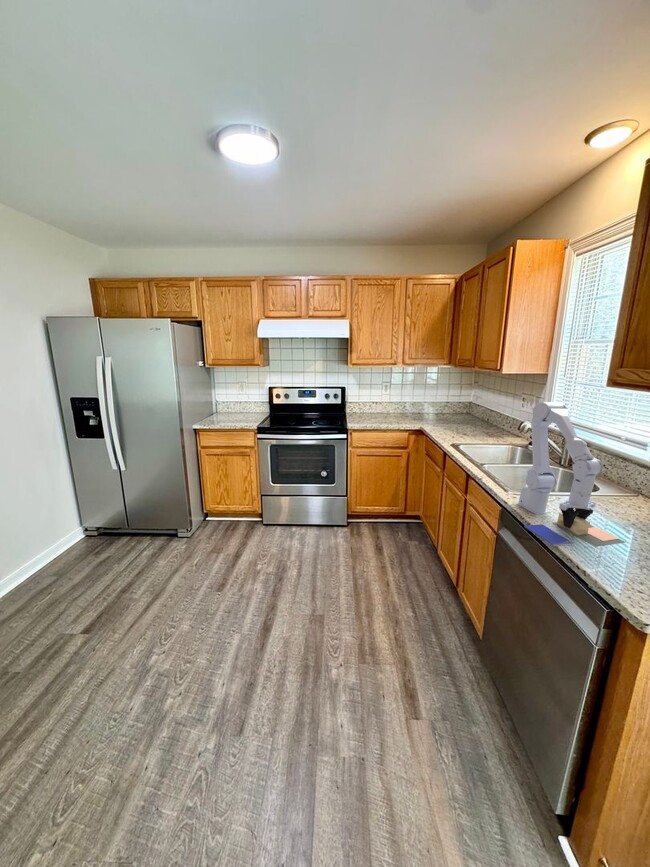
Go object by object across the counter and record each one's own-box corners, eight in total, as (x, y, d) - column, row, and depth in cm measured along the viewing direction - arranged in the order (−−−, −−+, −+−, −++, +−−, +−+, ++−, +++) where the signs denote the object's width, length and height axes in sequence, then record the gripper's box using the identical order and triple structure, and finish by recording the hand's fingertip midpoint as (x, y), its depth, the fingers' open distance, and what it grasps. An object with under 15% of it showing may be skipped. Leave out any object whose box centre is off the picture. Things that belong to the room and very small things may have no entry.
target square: (579, 529, 120) (579, 528, 120) (595, 527, 122) (595, 527, 122) (602, 541, 112) (602, 540, 112) (619, 539, 115) (619, 538, 115)
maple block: (556, 523, 123) (559, 512, 122) (565, 522, 125) (568, 511, 123) (577, 535, 116) (580, 523, 115) (587, 533, 117) (590, 522, 116)
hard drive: (574, 542, 109) (543, 524, 121) (553, 544, 108) (524, 525, 120) (573, 547, 110) (542, 528, 122) (552, 548, 108) (523, 529, 120)
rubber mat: (551, 523, 124) (551, 522, 124) (579, 520, 128) (579, 519, 128) (595, 547, 109) (595, 546, 109) (625, 543, 113) (625, 542, 113)
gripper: (576, 497, 111) (567, 533, 114) (608, 494, 115) (598, 529, 118) (557, 489, 118) (549, 523, 121) (587, 486, 122) (579, 520, 125)
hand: (572, 526), depth 120 cm, fingers closed on maple block, 4 cm apart
